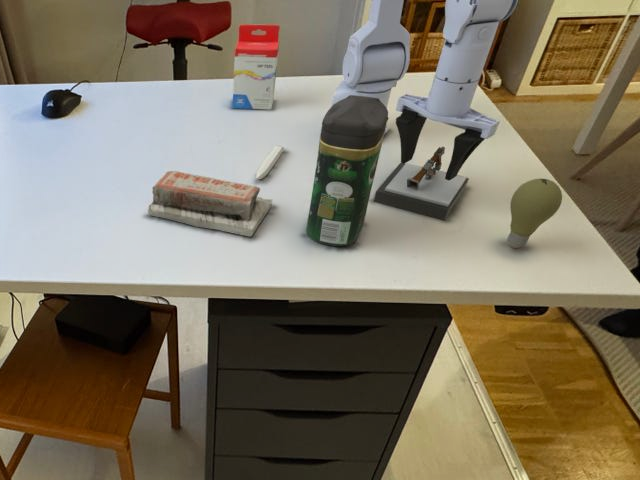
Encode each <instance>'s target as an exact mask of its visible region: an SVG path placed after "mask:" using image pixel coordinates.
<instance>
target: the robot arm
mask: <svg viewBox="0 0 640 480" xmlns="http://www.w3.org/2000/svg"><path fill="white" fill-rule="evenodd" d="M404 2H405V0H370V7H369V12H368V19H367V22H366V23H365V24H364V25H362V26H361V27H360V28H359V29H358V30H356V31H355V32H353V34H352V35H350V37H349V39H348V44H347V49H346V51H345V52H346V53H345V54H344V56H343V59H342V77H343V80H341V81H340V82H339V84H338V85H337V87H336V89H335V92H334V94H333V98H332V103H331V107H332V106H333V105H334V104H335V103H337V102H338V101H340V100H342V99H345V98H347V97H348V96H349V95H356V96H365V97H373V98H378V99H379V100H380V101H381V102H382V103H383V104H384V105H385V107H386V108H387V109H388V105H389V102H390V97H391V92H392V89H393V88H396V87H397V84H398V81H401V80H402V79H403V78H404V77H405V75H406V73H407V71H408V69H409V66H410V60H411V53H410V43H411V37H412V36H411V34H410V32H409V31H408V30H407V29H406V28H405V27H404V26H403V25H402V24H401V19H402V12H403V7H404ZM518 2H519V0H445V4H444V5H445V6H444V15H445V21H444V26H443V30H442V33H443V34H442V39H444V42H443V45H442V49H441V52H440V56H439V59H438V63H437V66H436V70H435V72H434V76H433V80H432V83H431V87H430V91H429V94H428V97H425V96H419V95H413V94H408V93H405V94H403V95H401V96H399V97H398V99H397V103H396V107H395V111H396V112H400V115H399V116H397V117H396V119H395V125H396V128H397V131H398V136H399V142H400V163H403V164H406V163H409V162H410V161H412V160H413V157H414V155H415V152H416V149H417V145H418V142H419V138H420V136H421V133H422V130H423V128H424V126H425V124H426V121H427V119H428V120H431V121H434V122H437V123H442V124H444V125H447V126H451V127H455V128H458V129H461V130H464V132H461V133H459V134H458V135H456V136H455V137H454V141H453V149H452V154H451V159H450V162H449V164H448V166H447V169H446V171H445V172H446V176H445V179H446V180H451V179H453V178H454V177H456V176H457V175H459V172H460V171H461V169H462V167H463V166H464V164H465V163H466V161H467V160H468V159H469V157H470V156H471V155H472V153H473V152H475V150H476V149H477V148H478V147H479V146H480V145H481V144H482V143H483V142H484V141H485V140H488V139H490V138H491V137H494V135H496V131H497V129H498V127H499V124H500V120H497V119H494V118H492V117H490V116H487V115H485V114H483V113H482V112H479V111H477V110H475V109H474V108H471V105H472V102H473V99H474V96H475V94H476V90H477V88H478V85H479V82H480V79H481V76H482V73H483V70H484V68H485V65H486V63H487V62H486V61H487V59H488V57H489V54H490V50H491V47H492V45H493V42H494V40H495V37H496V36H495V35H496V33H497V30H498V27H499V25H500V23H501V22H503V21H505V20H507V19H508V18H509V17H510V16H511V15H512V14H513V12H515V9H516V7H517V4H518ZM389 130H390V129H389V127H387V126H386V128H385V133H384V135H386V133H388V131H389Z"/></svg>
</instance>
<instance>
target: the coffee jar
mask: <svg viewBox="0 0 640 480" xmlns="http://www.w3.org/2000/svg"><path fill="white" fill-rule="evenodd" d="M389 119H390V117H389V110H388V107H387V108H386V107H385V105H384V104H383V103H382V102H381V101H380V100H379V99H378V98H373V97H365V96H356V95H349V96H348V97H347V98H345V99H342V100H340V101H338V102H337V103H335V104H334V105H333V106H332V105H331V106H330V107H329V108H328V110H327V112H326V113H325V114H324V117H323V118H322V123H321V129H320V134H319V140H318V150H317V158H316V166H315V172H314V177H313V184H312V185H313V186H312V191H311V198H310V205H309V210H308V215H307V216H308V217H307V222H306V227H305V228H306V229H305V232H306V235H307V236H308V237H309V238H310V239H311V240H314V241H316V242H317V243H318V244H319V243H320V244H323V245H326V246H332V247H333V246H334V247H337V246H338V247H339V246H349V245H351V244H352V243H354V242H355V241H357V238H358V237H359V235H361V232H362V230H363V228H364V224H365V219H366V215H367V211H368V206H369V201H370V196H371V192H372V188H373V184H374V180H375V176H376V171H377V167H378V163H379V158H380V154H381V151H382V145H383V141H384V136H385V134H386V133H385V128H386V127H387V124H388V121H389ZM384 133H385V134H384Z"/></svg>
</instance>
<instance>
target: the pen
mask: <svg viewBox="0 0 640 480" xmlns="http://www.w3.org/2000/svg"><path fill="white" fill-rule="evenodd" d="M284 150H285V147H284V146H283V145H282V144H278V145H275V146H274V147H273V149H271V150H270V152H269V153H268V155H267V156H266V158H265V159H264V161H262V163H261V165H260V166H259V167H258V169H257V170H256V174H255V180H262V179H264V178H265V177H266V176H267V175H268V173H269V172H270V171H271V170H272V169H273V167H274V166H275V164H276V163H277V161H278V160H279V159H280V157H281V156H282V154H283V152H284Z"/></svg>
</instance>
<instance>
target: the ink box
mask: <svg viewBox="0 0 640 480" xmlns="http://www.w3.org/2000/svg"><path fill="white" fill-rule="evenodd" d="M258 30H259V31H261V32H265V34H255V33H254V34H253V33H252V32H257V31H258ZM279 35H280V25H279V24H260V23H259V24H257V23H256V24H252V23H251V24H239V25H238V41H237V42H236V45H235V49H234V66H233V84H232V85H233V87H232V109H245V110H246V109H247V110H268V111H269V110H271V111H272V109H273V104H274V98H275V91H276V90H275V88H276V79H277V69H278V59H279V58H278V57H279V50H280V49H279V48H280V41H279Z"/></svg>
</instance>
